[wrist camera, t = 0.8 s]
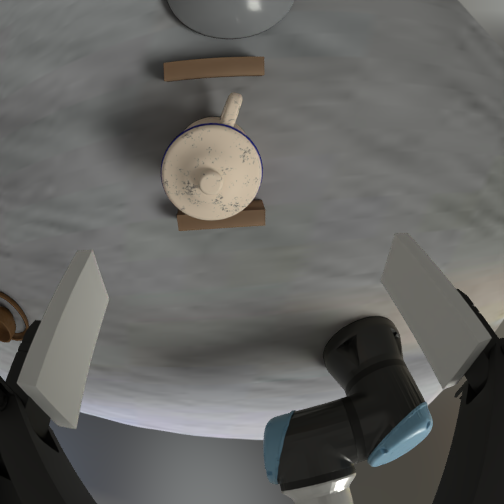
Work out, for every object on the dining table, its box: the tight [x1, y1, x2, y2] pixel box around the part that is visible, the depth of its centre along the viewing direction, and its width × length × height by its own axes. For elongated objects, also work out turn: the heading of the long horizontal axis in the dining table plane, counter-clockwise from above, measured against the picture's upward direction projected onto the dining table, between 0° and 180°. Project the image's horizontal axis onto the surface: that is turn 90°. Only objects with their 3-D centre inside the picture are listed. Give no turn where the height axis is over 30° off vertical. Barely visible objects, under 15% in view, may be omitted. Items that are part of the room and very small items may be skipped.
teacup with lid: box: [161, 93, 263, 220], centre depth 28 cm, size 12×9×12 cm
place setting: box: [0, 292, 29, 342], centre depth 39 cm, size 18×20×6 cm
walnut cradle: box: [164, 57, 265, 231], centre depth 32 cm, size 19×10×3 cm, turn 1°
